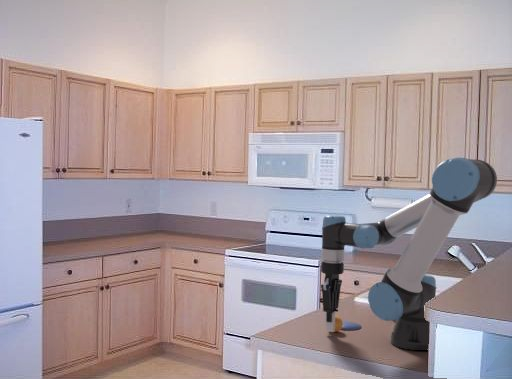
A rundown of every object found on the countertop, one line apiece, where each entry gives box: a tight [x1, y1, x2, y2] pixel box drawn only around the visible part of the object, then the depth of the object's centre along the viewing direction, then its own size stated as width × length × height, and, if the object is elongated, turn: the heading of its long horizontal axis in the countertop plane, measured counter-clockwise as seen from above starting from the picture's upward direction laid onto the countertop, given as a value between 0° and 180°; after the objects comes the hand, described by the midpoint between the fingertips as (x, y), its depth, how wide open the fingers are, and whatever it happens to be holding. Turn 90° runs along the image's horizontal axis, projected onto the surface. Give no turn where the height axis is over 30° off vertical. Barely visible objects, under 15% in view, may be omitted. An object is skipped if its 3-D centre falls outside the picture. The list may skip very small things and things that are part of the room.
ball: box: [333, 315, 343, 333], centre depth 195 cm, size 6×6×6 cm
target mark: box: [340, 320, 362, 331], centre depth 203 cm, size 12×12×1 cm
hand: (330, 330), depth 191 cm, fingers closed
